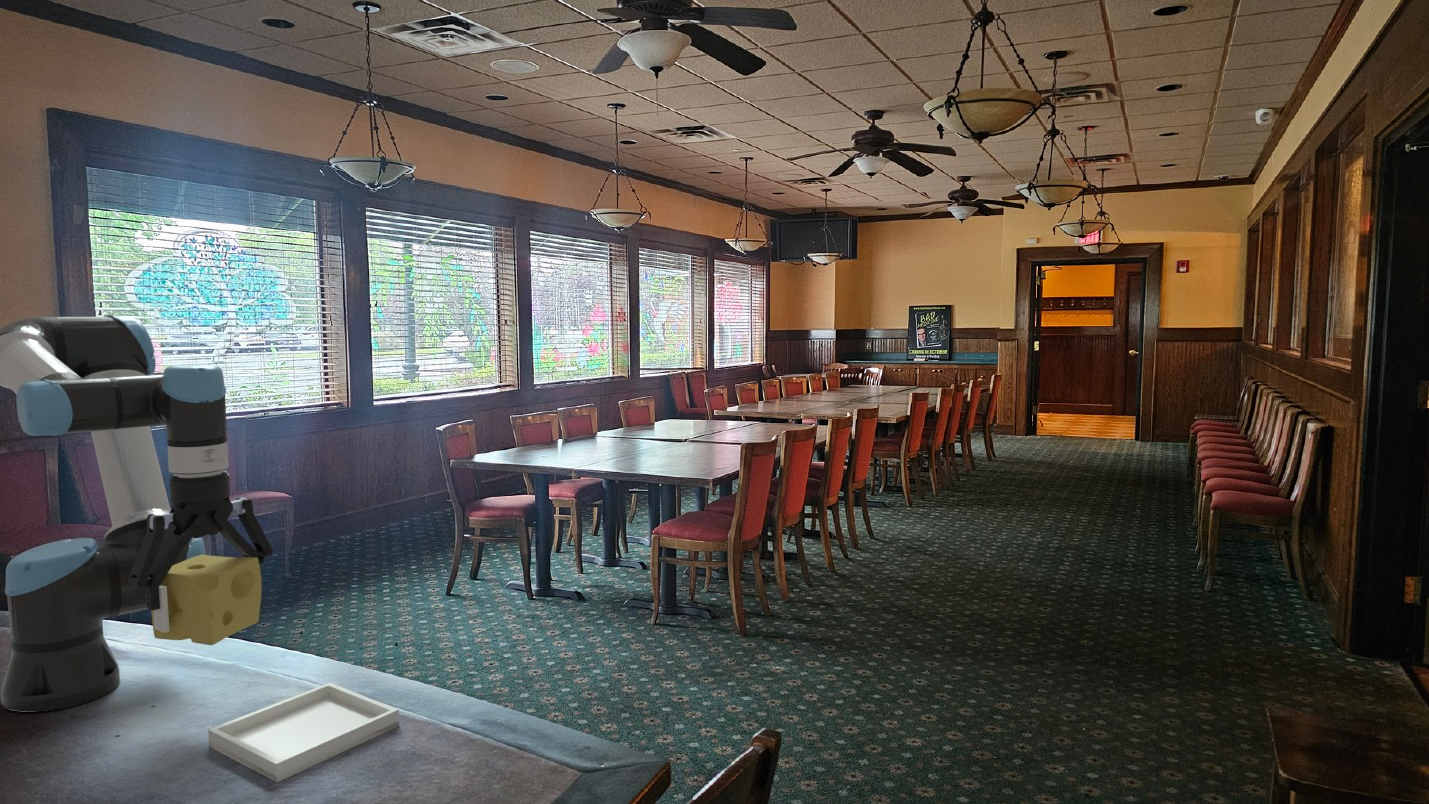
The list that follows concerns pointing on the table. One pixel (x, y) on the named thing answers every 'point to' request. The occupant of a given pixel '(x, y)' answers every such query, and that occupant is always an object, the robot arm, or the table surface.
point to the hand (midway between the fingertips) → (207, 616)
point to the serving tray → (302, 730)
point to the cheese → (211, 598)
